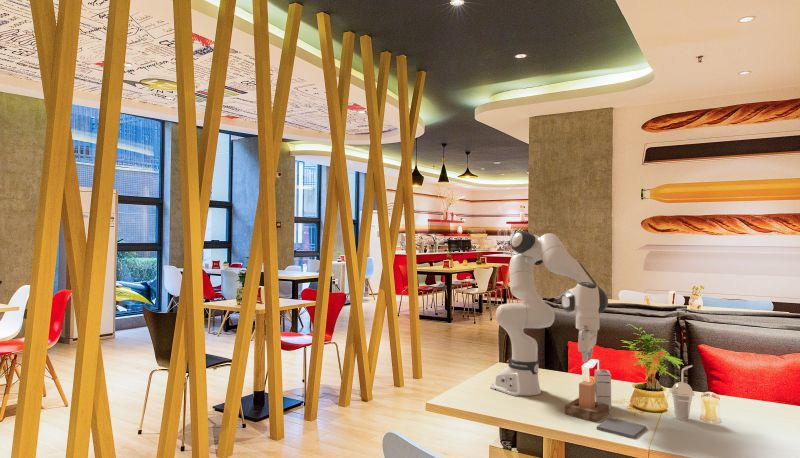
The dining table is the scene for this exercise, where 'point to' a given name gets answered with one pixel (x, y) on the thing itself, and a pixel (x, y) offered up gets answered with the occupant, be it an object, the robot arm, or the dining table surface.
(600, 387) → the syrup box
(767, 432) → the dining table surface
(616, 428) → the slate mat
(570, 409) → the socket holder
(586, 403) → the terracotta peg
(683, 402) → the cup with straw
